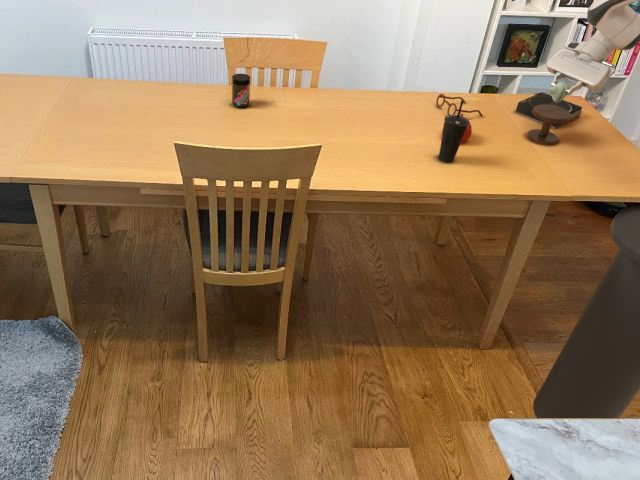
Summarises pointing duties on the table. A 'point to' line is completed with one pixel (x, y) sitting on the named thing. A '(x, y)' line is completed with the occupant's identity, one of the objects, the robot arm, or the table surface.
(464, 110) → the glasses
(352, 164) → the table surface
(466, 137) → the red tomato
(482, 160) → the table surface
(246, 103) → the supplement container
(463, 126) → the drinking cup
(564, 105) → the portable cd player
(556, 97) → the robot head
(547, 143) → the brown round base
